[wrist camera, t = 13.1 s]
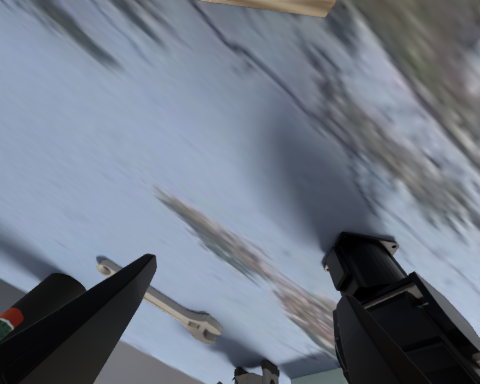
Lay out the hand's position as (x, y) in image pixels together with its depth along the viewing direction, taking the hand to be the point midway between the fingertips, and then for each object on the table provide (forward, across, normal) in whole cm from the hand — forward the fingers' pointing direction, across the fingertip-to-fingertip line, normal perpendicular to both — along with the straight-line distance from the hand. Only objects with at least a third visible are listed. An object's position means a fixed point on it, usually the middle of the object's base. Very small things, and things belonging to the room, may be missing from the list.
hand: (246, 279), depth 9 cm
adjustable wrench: (+14, +11, +26) cm, 31 cm away
